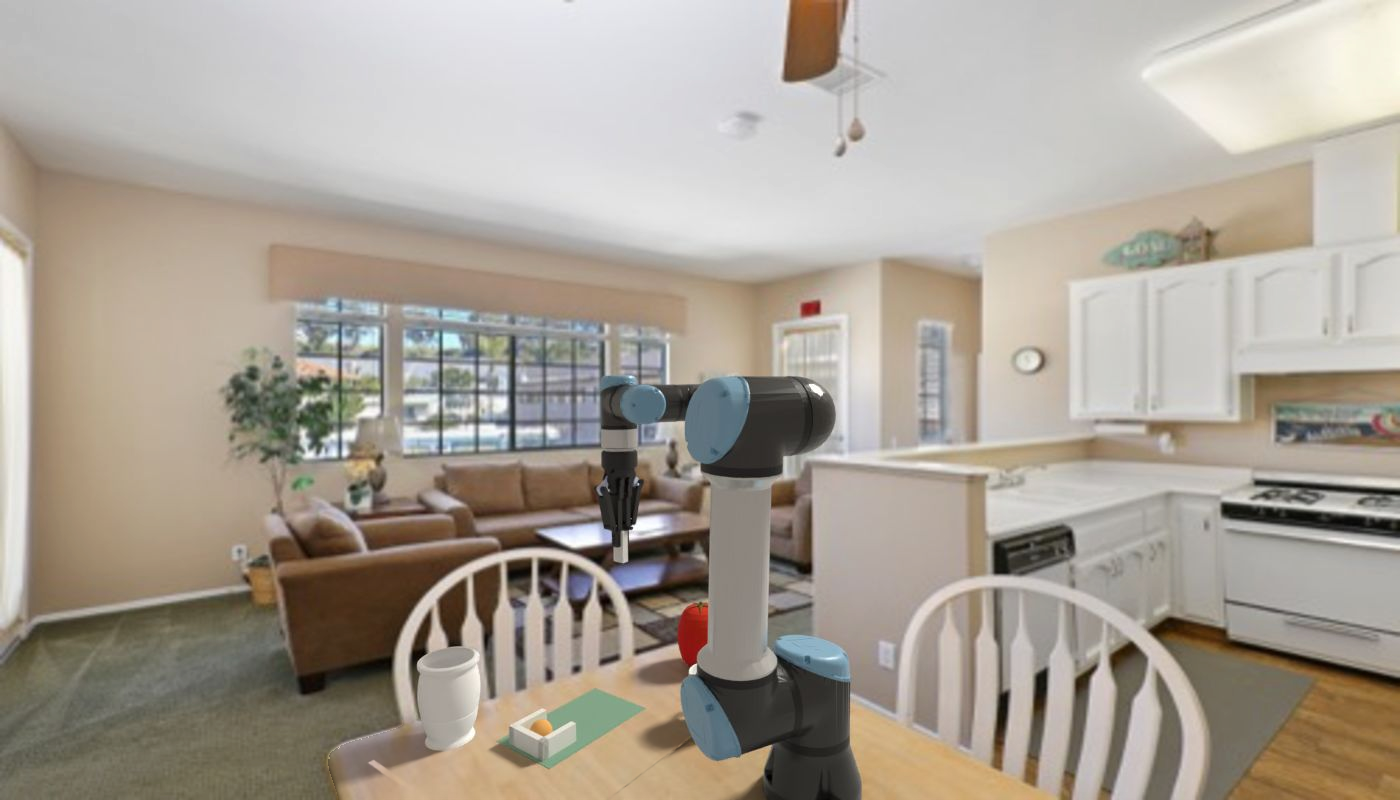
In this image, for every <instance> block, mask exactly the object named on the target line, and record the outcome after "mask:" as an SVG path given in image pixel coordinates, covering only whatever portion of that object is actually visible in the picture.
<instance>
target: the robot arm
mask: <svg viewBox="0 0 1400 800" xmlns="http://www.w3.org/2000/svg"><path fill="white" fill-rule="evenodd" d="M599 388H600V389H599V397H600V400H599V401H600V437H601V438H600V445H601V446H600V447H601V448H602V449H603V450H601V453H600V455H601V456H600V457H601V458H600V461H601V462H600V463H601V464H600V465H601V468H602V469H603V476H602V481H601V483H600V484H599V485H598V484H597V485H594V486H593V490H594V493H595V494H596V496H597V499H598V505H599V509H600V514H601V515H600V516H601V521H602V526H603V529H604V530H608V531H611V546H612V548H613V549H612V550H613V551H612V552H613V562H616V563H619V564H620V563H621V564H625V563H628V562H629V549H628V548H629V547H628V546H629V544H630V531H633V530H634V526H636V525H637V520H638V515H639V514H638V513H639V508H640V507H639V506H640V499H641V495H642V494H641V492H642V489H643V486H644V483H645V479H644V478H639V477H637V473H636V468H637V467H638V460H639V459H638V456H639V455H638V451H637V450H636V448H637V447H638V445H639V444H638V425H639V426H643V425H646V426H647V425H651V424H655V423H657V424H658V423H659V424H660V423H676V422H684V440H685V441H686V443H687V445H686V449H687V451H688V454H689V455H690V457H691V458H692V459H693V460H694V461H695V462H698V463H700V466H699V467H700V473H701V474H702V476H704V478H706V479H707V480H708V482H709V483H710V504H709V505H710V506H709V507H710V508H709V551H708V552H709V558H708V559H709V562H708V564H709V565H708V600H707V602H708V644H706V645H705V646H704V647H703V648H702V649H701V650H700V651H699V653H698V655H697V673H696V674H695V675H694V674H690V675H689V674H688V676H686V677H684V678H683V681H682V682H681V683H680V684H681V685H680V689H679V694H680V695H679V696H680V705H681V709H682V713H683V716H684V721H685V723H686V725H687V729H688V731H689V733H690V737H691V738H692V740H693V741H694V743H695V745H696V746H697V748H698V749H699V751H700V752H701V753H702V754H703V755H704V756H705V757H706V758H708V759H709V760H712V761H714V762H720V761H721V762H722V761H724V760H728V759H731V758H735V759H736V758H737V759H738V758H740V757H742V755H745V754H748V753H752V752H755V751H757V750H760V749H763V748H766V747H768V746H771V747H770V750H769V753H768V756H767V758H766V762H765V764H764V768H763V775H762V776H763V778H762V780H763V783H762V785H763V787H762V788H763V792H764V795H765V797H766V799H767V800H862V798H863V797H862V796H863V795H862V794H863V791H862V790H863V784H862V783H863V782H862V777H861V773H860V772H859V767H858V765H857V762H856V758H855V755H854V753H853V749H852V745H851V681H852V677H851V674H850V673H851V672H850V670H851V669H850V659H849V656H848V654H847V652H846V651H845V650H844V649H843V648H842V647H841V646H839V645H838V644H836V643H833V642H832V641H829V640H828V639H827V640H826V639H823V638H821V637H817V636H810V635H805V634H804V635H803V634H788V635H783V636H780V637H778V638H776V640H775V641H774V644H773V646H772V649H771V648H770V647H768V630H769V629H768V628H769V627H768V625H769V624H768V623H769V596H770V595H769V593H770V592H769V590H770V554H771V553H770V551H771V549H770V548H771V516H772V514H771V513H772V510H771V509H772V486H773V485H774V483H776V481H778V479H780V478H781V477H782V476H783V473H784V471H783V470H784V469H783V468H784V457H791V456H792V457H793V456H801V455H804V454H807V453H811V452H814V451H815V450H816V449H818V448H819V447H821V446H822V445H823V444H825V442H827V440H828V439H829V437H830V436H831V435H832V432H833V430H834V429H835V424H836V421H837V413H836V412H837V411H836V405H835V402H834V399H833V398H832V396H831V394H830V393H829V391H827V389H826V388H825V387H824V386H823V385H822V384H820V383H818V381H816V380H813V379H810V378H808V377H807V378H806V377H803V376H798V375H797V376H795V375H791V376H790V375H786V376H777V375H776V376H774V375H773V376H769V375H768V376H763V375H762V376H761V375H760V376H759V375H757V376H756V375H754V376H751V375H750V376H749V375H745V376H744V375H737V374H735V375H729V376H723V377H722V376H720V377H713V378H710V379H707V380H705V381H704V382H702V383H693V384H691V383H687V384H686V383H685V384H683V383H682V384H673V383H672V384H647V383H646V384H641V383H639V384H637V379H636V377H635V376H634V375H631V374H629V375H627V374H626V375H623V374H621V375H620V374H619V375H615V374H614V375H612V374H611V375H603V376H602V377H601V378H600V387H599Z"/></svg>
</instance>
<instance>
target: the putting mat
mask: <svg viewBox="0 0 1400 800" xmlns="http://www.w3.org/2000/svg"><path fill="white" fill-rule="evenodd" d="M646 709H647V708H646V707H644V706H642V705H641V704H636V703H634V702H632V701H630V700H627V699H624V698H622V697H618V696H616V695H614V694H611V693H609V692H606V691H603V690H601V689H598V688H596V687H595V688H592V689H591V690H589V691H587V692H585V693H582V694H581V695H579V696H578V697H576V698H574V699H572V700H570V701H568V702H566V703H565V704H563V705H561V706H559V707H557V708H555V709H553V710H551V711H550V712H547V721H548V722H550V724H551V726H552V730H553V731H555V730H557V729H559V728H560V727H562V726H564V725H566V724H567V723H569V722H571V721H572V722H574V723H576V742H574V743H572V744H571V745H569V746H567V747H566V748H564V749H562V750H561V751H559V752H558V753H556V754H554V755H553V756H551V757H549V758H548V759H546V760H544V761H542V760H540V759H538V758H536V757H534V756H532V755H530V754H528V753H526V752H524V751H523V750H521V749H519V748H517V747H515V746H513V745H511V744H509V734H507V735H506V736H503V737H502V738H500V739H498V740H496V742H497V743H499V744H501V745H503V746H505V747H506V748H509V750H512V751H514V752H515V753H518V754H519V755H522V756H524V757H525V758H527V759H530V760H531V761H533V762H535V763H537V764H538V765H541V766H543V767H544V768H546V769H548V770H551V769H553V768H554V767H555V766H557V765H558V764H560V763H562V762H564V761H565V760H566V759H568V758H570V757H571V756H573V755H574V754H576V753H577V752H579V751H580V750H582V749H584V748H585V747H587V746H588V745H590V744H592V743H593V742H595V741H596V740H599V739H600V738H601V737H603V736H604V735H606V734H607V733H610V731H613V730H614V729H615V728H617V727H619V726H620V725H621V724H623V723H625V722H627V721H628V720H631V719H632V717H635V716H636V715H638V714H640V713H641V712H643V711H644V710H646Z"/></svg>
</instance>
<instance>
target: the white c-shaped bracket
mask: <svg viewBox="0 0 1400 800" xmlns="http://www.w3.org/2000/svg"><path fill="white" fill-rule="evenodd" d="M547 714H548V710H547V709H545V708H543V707H542V708H540V709H538V710H536V711H535V712H532V713H531V714H528V715H527V716H525V717H523V718H521V719H519V720H517V721H515V722H513V723H511V724H510V725H509V726H508V730H509V731H508V733H509V734H508V735H509V744H511V745H513V746H515V747H517V748H519V749H521V750H523V751H524V752H526V753H528V754H530V755H532V756H534V757H536V758H538V759H540V760H542V761H544V760H546V759H548V758H549V757H551V756H553V755H554V754H556V753H558V752H559V751H561V750H562V749H564V748H566V747H567V746H569V745H571V744H572V743H574V742H576V723H574V722H572V721H571V722H569V723H567V724H566V725H564V726H562V727H560V728H559V729H557V730H555V731H553V732H552V733H550V734H548V735H546V736H545V737H543V736H541V735H539V734H537V733H535V732H533V731H531V730H530V727H531V726H532V724H533V723H534V722H535V721H537V720H540V719H544V720H547Z"/></svg>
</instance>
